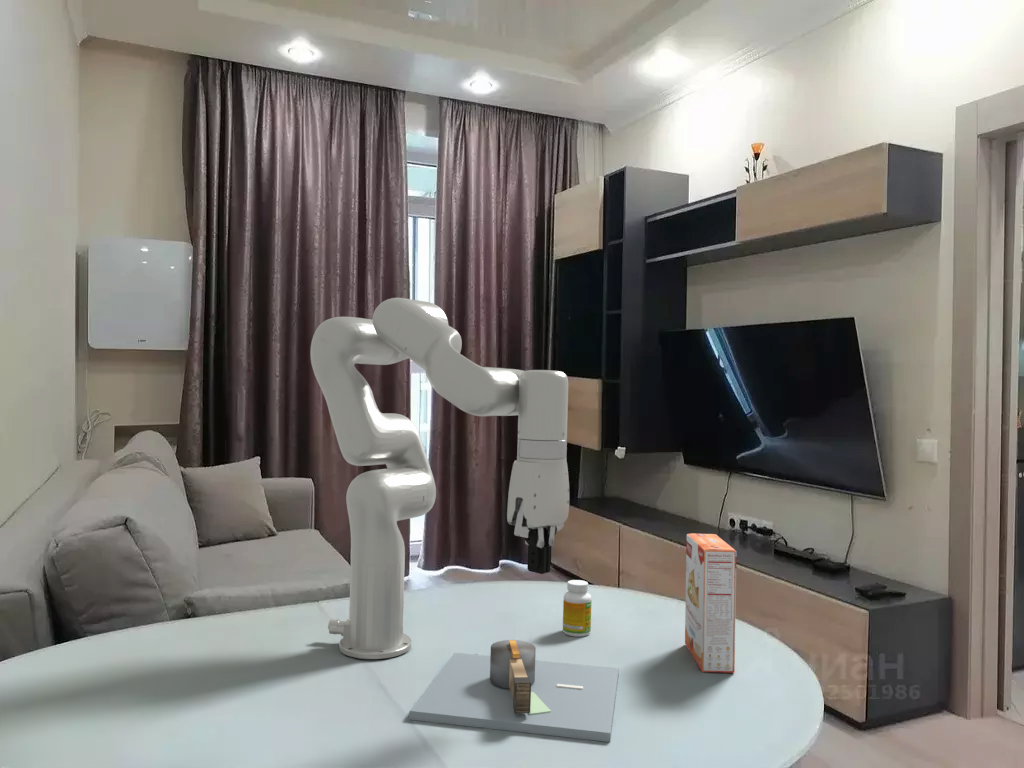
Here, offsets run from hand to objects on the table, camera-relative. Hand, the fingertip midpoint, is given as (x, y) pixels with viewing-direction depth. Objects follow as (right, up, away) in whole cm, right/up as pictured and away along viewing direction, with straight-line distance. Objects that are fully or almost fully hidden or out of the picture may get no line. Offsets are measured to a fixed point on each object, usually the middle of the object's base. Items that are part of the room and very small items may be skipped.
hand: (538, 571), depth 115 cm
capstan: (-4, -17, -2) cm, 18 cm away
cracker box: (+30, -20, +19) cm, 41 cm away
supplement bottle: (+8, -20, +31) cm, 37 cm away
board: (-2, -19, 0) cm, 19 cm away
